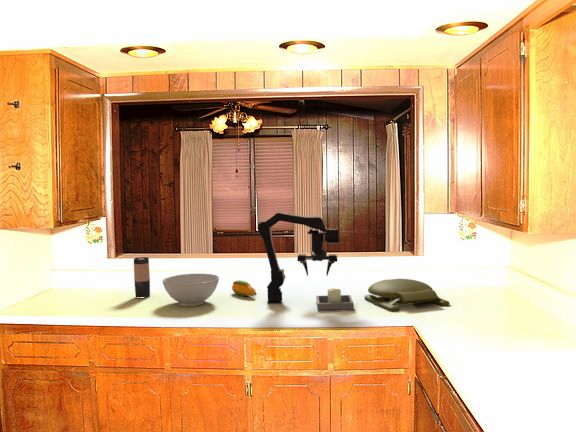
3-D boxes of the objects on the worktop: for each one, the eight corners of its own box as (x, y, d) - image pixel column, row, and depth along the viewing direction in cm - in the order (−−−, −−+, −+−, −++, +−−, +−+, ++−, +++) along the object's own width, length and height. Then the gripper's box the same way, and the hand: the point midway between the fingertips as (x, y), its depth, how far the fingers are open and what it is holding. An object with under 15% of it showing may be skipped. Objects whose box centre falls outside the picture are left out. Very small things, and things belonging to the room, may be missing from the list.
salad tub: (328, 306, 262) (327, 291, 262) (327, 303, 268) (327, 288, 268) (341, 306, 262) (341, 291, 261) (340, 303, 268) (340, 288, 267)
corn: (240, 277, 303) (261, 282, 287) (241, 291, 304) (262, 297, 287) (227, 279, 298) (248, 285, 282) (229, 294, 299) (250, 300, 283)
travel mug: (153, 296, 297) (152, 257, 295) (142, 299, 290) (141, 259, 289) (142, 294, 301) (141, 256, 299) (131, 297, 294) (130, 258, 292)
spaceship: (452, 306, 262) (452, 285, 261) (391, 313, 253) (391, 291, 252) (412, 291, 295) (412, 272, 295) (357, 296, 286) (357, 277, 285)
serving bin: (317, 311, 257) (317, 303, 257) (316, 303, 273) (316, 295, 273) (353, 310, 257) (353, 302, 257) (350, 302, 273) (350, 295, 273)
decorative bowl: (209, 294, 297) (208, 271, 296) (227, 305, 273) (226, 280, 272) (157, 301, 285) (156, 277, 284) (172, 312, 261) (170, 286, 260)
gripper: (297, 245, 266) (297, 278, 267) (337, 245, 265) (337, 279, 266) (297, 242, 277) (297, 274, 278) (336, 242, 276) (336, 274, 277)
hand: (317, 275), depth 275 cm, fingers open, 9 cm apart
